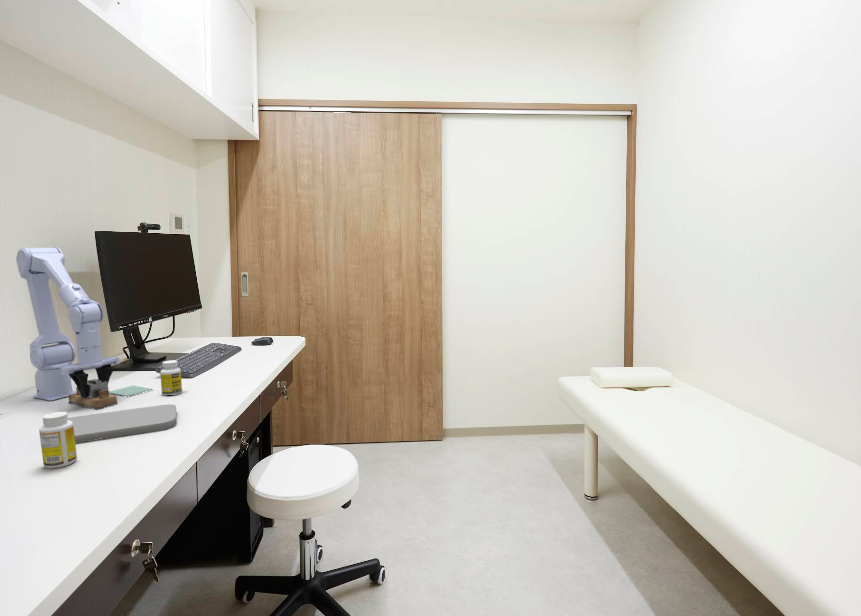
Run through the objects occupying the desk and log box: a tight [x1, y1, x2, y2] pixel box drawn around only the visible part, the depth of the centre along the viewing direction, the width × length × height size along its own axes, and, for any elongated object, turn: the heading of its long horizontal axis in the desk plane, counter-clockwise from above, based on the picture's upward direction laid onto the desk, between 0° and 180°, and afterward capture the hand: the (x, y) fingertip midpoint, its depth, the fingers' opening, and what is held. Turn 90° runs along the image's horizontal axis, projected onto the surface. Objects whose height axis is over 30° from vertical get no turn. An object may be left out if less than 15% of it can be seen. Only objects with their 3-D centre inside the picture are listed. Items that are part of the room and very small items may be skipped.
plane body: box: [68, 386, 119, 410], centre depth 144 cm, size 14×6×4 cm, turn 62°
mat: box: [109, 385, 153, 398], centre depth 156 cm, size 10×8×1 cm
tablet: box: [68, 404, 177, 444], centre depth 124 cm, size 16×26×2 cm, turn 116°
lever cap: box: [79, 378, 109, 399], centre depth 143 cm, size 6×4×5 cm
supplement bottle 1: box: [39, 411, 78, 469], centre depth 103 cm, size 6×6×10 cm
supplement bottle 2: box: [159, 359, 183, 396], centre depth 152 cm, size 5×5×10 cm
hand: (94, 394), depth 144 cm, fingers closed on lever cap, 4 cm apart
